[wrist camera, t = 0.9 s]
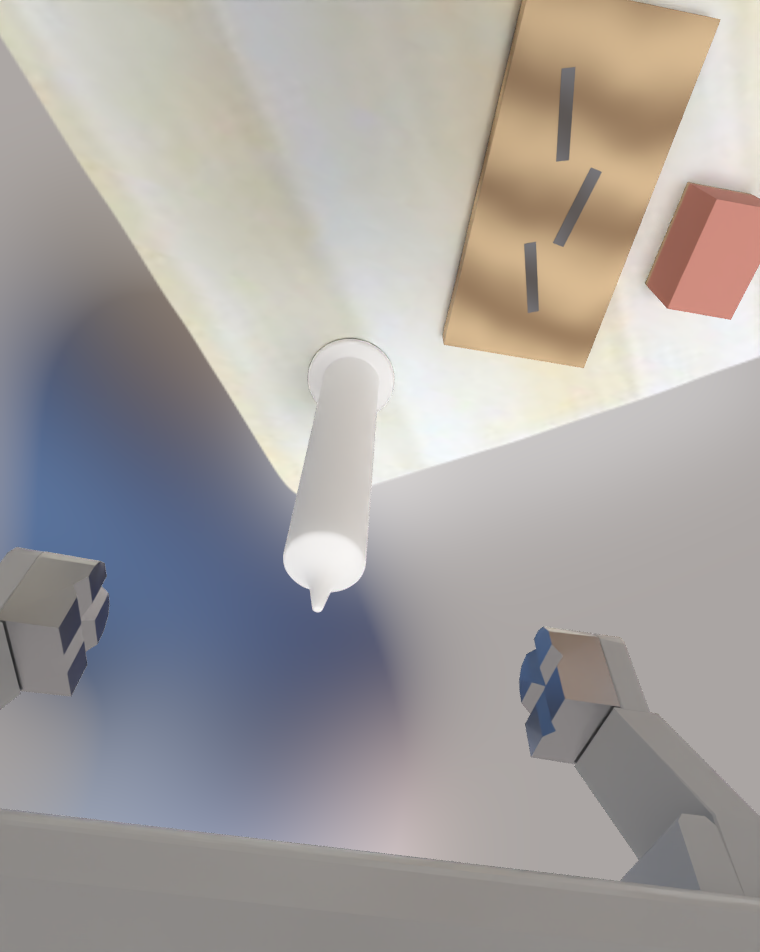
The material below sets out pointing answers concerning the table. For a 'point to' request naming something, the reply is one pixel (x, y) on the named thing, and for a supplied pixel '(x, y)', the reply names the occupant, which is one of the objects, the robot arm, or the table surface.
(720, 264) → the block
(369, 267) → the table surface
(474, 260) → the plank
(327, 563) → the candle
